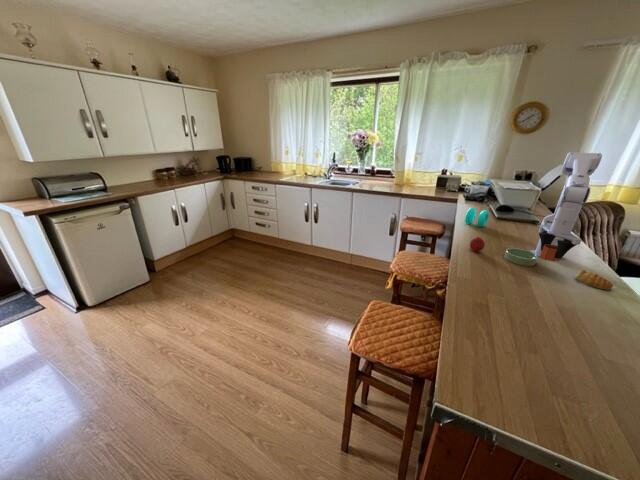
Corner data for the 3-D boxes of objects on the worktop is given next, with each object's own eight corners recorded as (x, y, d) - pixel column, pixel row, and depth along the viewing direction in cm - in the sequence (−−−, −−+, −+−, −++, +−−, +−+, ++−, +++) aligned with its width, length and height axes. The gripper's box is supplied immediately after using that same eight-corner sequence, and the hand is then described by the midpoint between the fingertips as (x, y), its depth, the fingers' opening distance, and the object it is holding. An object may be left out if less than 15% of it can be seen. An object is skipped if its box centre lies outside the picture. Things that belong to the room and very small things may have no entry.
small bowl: (549, 254, 100) (554, 244, 98) (562, 261, 95) (567, 250, 93) (536, 254, 99) (540, 244, 98) (548, 261, 94) (553, 250, 93)
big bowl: (521, 254, 115) (523, 247, 114) (542, 266, 105) (545, 259, 104) (498, 255, 115) (500, 248, 113) (516, 267, 105) (519, 259, 103)
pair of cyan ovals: (468, 221, 159) (472, 205, 155) (486, 225, 152) (491, 209, 148) (462, 224, 152) (466, 208, 148) (480, 229, 146) (485, 212, 142)
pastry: (613, 287, 91) (618, 278, 90) (607, 293, 88) (612, 283, 86) (579, 275, 98) (583, 267, 97) (572, 280, 95) (576, 271, 94)
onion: (484, 255, 114) (489, 238, 111) (470, 254, 115) (474, 237, 112) (479, 249, 120) (484, 234, 116) (466, 248, 121) (470, 233, 117)
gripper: (537, 214, 98) (525, 246, 103) (573, 227, 84) (557, 263, 90) (554, 214, 98) (542, 246, 103) (593, 227, 85) (576, 263, 90)
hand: (550, 254), depth 96 cm, fingers closed on small bowl, 5 cm apart
